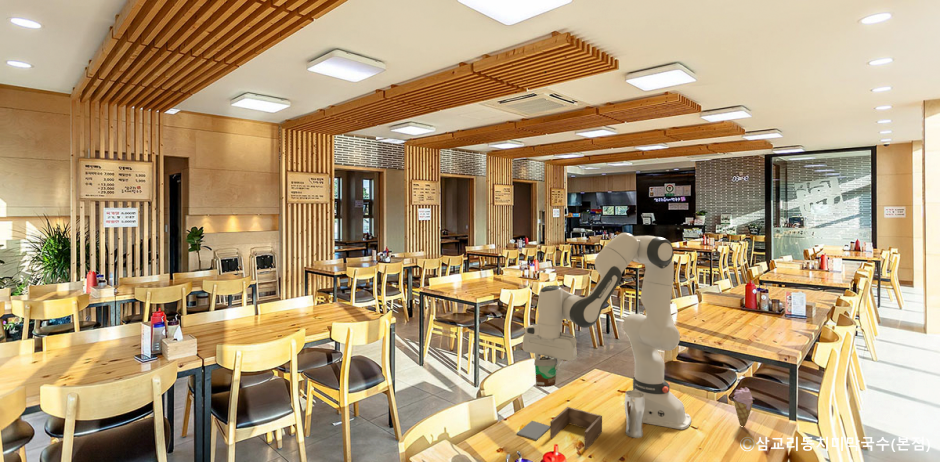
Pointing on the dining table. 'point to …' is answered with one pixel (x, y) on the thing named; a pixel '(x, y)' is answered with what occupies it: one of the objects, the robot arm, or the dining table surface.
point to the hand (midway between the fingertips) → (548, 367)
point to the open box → (578, 423)
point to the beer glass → (634, 413)
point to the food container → (545, 371)
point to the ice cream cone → (743, 404)
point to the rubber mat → (533, 430)
